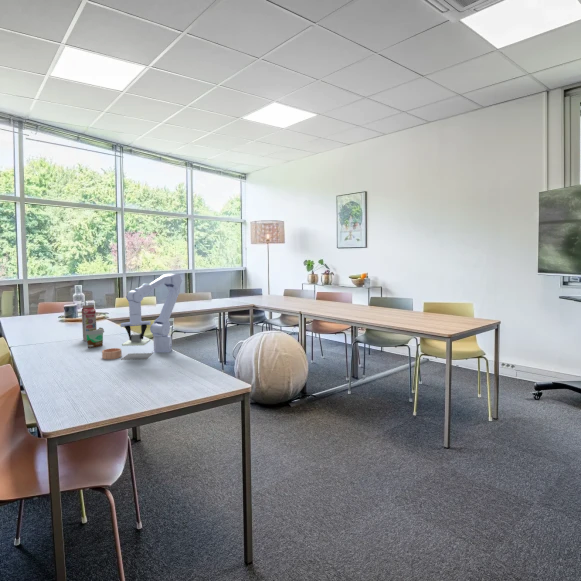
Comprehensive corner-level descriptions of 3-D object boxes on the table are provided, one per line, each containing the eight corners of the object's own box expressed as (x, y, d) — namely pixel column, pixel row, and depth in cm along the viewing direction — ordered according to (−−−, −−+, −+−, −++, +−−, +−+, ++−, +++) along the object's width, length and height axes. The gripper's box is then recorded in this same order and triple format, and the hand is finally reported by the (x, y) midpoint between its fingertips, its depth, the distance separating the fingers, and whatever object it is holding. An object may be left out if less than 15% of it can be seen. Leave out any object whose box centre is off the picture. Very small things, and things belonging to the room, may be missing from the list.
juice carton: (83, 339, 260) (81, 305, 258) (94, 338, 264) (92, 304, 262) (85, 341, 254) (83, 306, 252) (97, 340, 258) (95, 305, 256)
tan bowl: (123, 355, 220) (123, 348, 220) (117, 359, 211) (117, 352, 211) (106, 355, 219) (106, 348, 219) (99, 360, 210) (99, 352, 210)
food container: (95, 348, 235) (95, 331, 234) (86, 348, 236) (85, 331, 236) (109, 344, 247) (108, 327, 246) (100, 343, 249) (99, 327, 248)
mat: (153, 354, 223) (153, 353, 223) (146, 360, 210) (146, 359, 210) (128, 354, 222) (128, 353, 222) (120, 360, 209) (120, 359, 209)
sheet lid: (150, 340, 221) (149, 331, 221) (144, 345, 210) (143, 336, 210) (129, 341, 220) (128, 332, 220) (122, 345, 209) (121, 336, 209)
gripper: (149, 311, 221) (149, 336, 222) (119, 313, 214) (120, 339, 215) (150, 313, 214) (151, 339, 215) (120, 315, 208) (121, 342, 209)
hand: (136, 339), depth 215 cm, fingers closed on sheet lid, 5 cm apart
